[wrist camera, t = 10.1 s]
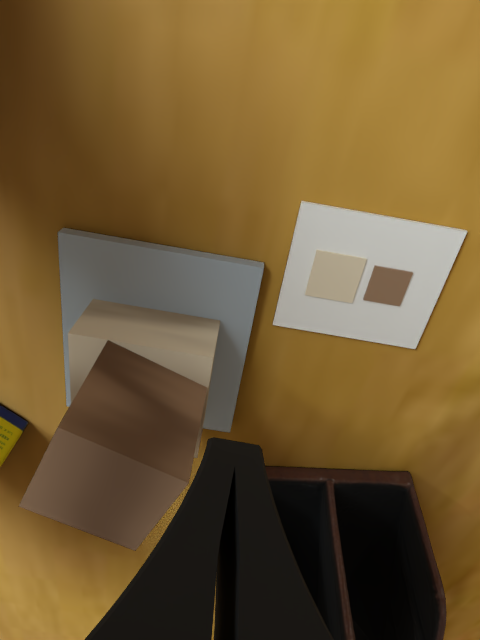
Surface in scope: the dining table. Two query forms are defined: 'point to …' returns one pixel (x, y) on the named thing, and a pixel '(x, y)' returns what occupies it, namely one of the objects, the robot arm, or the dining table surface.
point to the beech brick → (144, 342)
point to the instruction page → (364, 274)
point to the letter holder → (362, 551)
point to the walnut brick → (120, 449)
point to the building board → (165, 298)
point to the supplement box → (9, 431)
